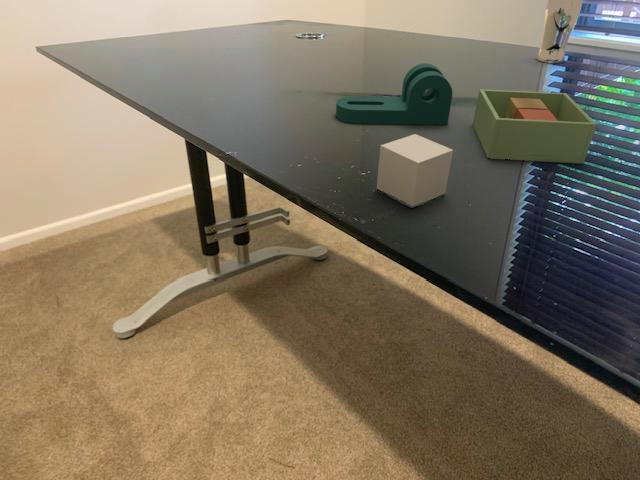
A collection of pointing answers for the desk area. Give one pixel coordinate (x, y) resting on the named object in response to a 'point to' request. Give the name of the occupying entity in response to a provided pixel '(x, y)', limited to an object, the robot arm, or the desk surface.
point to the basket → (533, 128)
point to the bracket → (403, 101)
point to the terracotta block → (535, 114)
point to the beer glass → (558, 29)
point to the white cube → (414, 169)
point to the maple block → (523, 106)
